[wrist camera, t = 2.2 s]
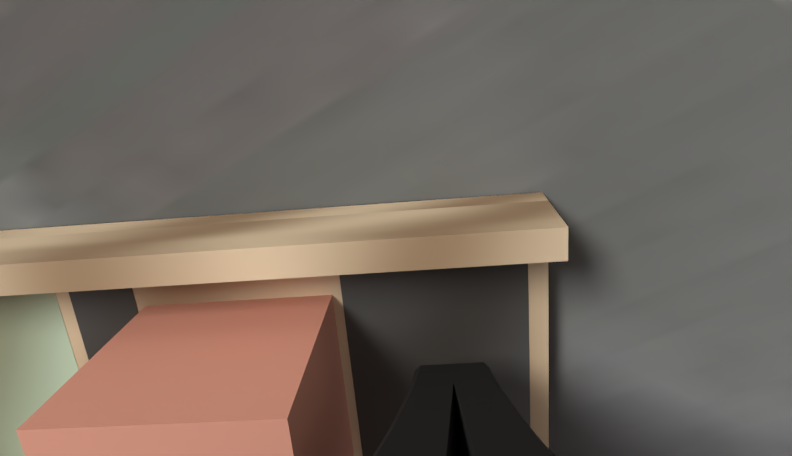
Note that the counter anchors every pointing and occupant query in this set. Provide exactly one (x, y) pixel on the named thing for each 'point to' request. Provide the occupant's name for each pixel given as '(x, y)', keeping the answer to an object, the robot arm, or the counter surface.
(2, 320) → the box
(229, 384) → the red block
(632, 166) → the counter surface
